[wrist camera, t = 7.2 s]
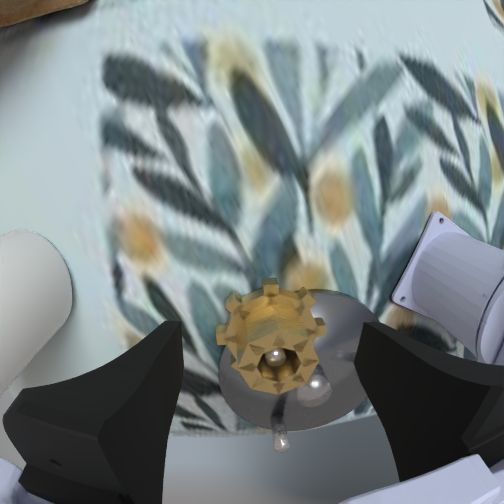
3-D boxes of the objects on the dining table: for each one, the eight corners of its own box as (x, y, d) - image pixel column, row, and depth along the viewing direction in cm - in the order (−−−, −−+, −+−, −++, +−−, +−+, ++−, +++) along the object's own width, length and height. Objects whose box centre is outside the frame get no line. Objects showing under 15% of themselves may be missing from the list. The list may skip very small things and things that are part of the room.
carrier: (409, 320, 23) (438, 347, 18) (329, 431, 26) (340, 464, 21) (264, 260, 21) (273, 286, 16) (196, 400, 24) (191, 439, 19)
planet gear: (336, 296, 20) (359, 327, 16) (295, 375, 22) (307, 415, 18) (238, 265, 19) (240, 293, 15) (206, 353, 21) (201, 393, 17)
